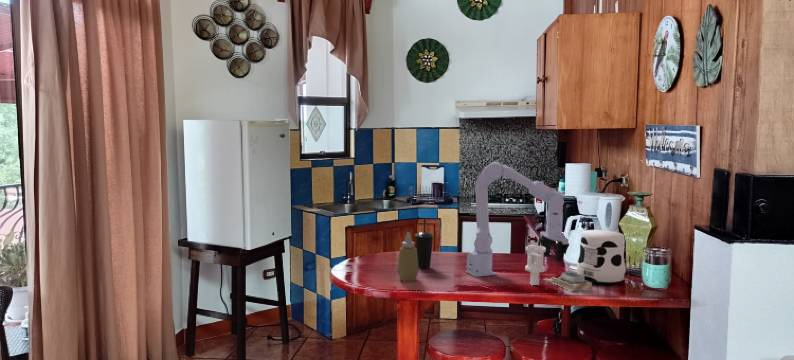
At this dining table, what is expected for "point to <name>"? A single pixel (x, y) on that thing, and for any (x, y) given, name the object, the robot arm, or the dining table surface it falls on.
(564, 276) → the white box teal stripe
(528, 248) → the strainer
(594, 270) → the milk container
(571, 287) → the dock
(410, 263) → the squeeze bottle
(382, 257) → the dining table surface
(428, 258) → the drinking cup
